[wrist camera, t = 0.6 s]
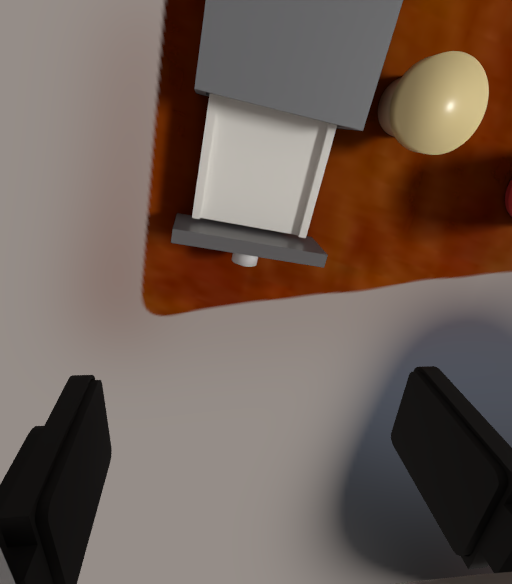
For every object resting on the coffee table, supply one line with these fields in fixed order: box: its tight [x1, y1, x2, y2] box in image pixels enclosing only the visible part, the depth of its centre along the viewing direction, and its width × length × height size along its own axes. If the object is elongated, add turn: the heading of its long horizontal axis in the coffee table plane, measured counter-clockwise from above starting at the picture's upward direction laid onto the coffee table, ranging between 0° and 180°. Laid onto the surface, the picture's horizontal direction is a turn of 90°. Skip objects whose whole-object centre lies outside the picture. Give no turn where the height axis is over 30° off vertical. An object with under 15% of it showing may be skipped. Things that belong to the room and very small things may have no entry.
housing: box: [194, 0, 403, 131], centre depth 27 cm, size 14×13×6 cm
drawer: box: [171, 93, 337, 267], centre depth 31 cm, size 16×14×5 cm
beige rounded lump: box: [378, 77, 402, 137], centre depth 31 cm, size 5×5×4 cm
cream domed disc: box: [389, 51, 489, 155], centre depth 28 cm, size 7×7×2 cm
